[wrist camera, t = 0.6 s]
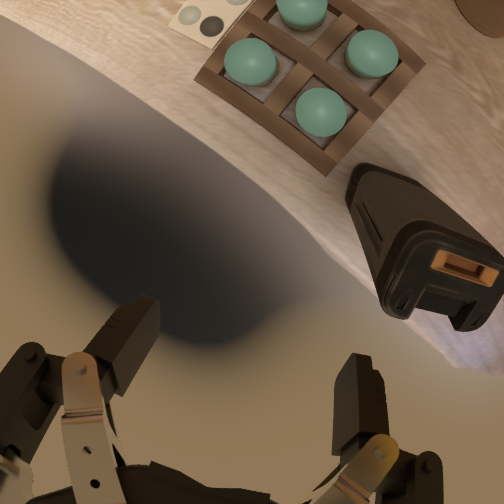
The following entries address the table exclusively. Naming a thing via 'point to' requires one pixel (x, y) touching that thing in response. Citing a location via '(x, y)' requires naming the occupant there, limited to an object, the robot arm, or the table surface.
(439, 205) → the electronic device
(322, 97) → the button
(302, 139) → the board
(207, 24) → the card
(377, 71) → the button
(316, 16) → the button
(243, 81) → the button
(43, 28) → the table surface
